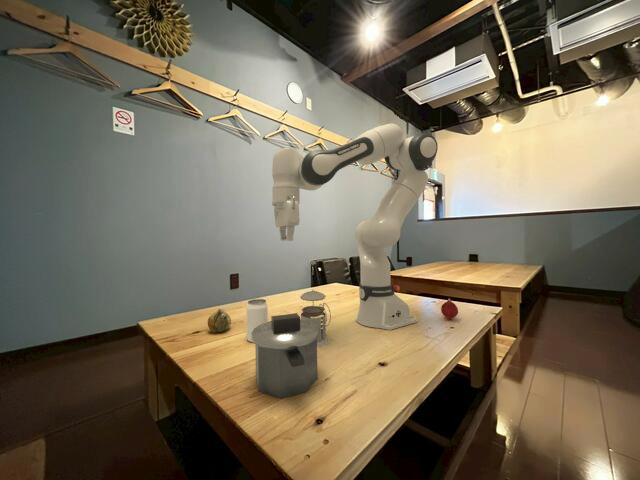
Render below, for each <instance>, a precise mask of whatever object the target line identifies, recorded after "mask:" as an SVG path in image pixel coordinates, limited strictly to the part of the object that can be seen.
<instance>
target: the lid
mask: <svg viewBox="0 0 640 480" xmlns="http://www.w3.org/2000/svg"><path fill="white" fill-rule="evenodd" d="M270 317H271V320H270V321H268V322H266V323H263V324H261V325H259V326H257V327H256V328H254V329H253V331H252V341H253V343H252V344H254V345H255V346H256V345H257V346H259V347H262V348H265V349H271V350H290V349H296V348H301V347H304V346H307V345H309V344H311V343H313V342H314V341H316V339H317V338H318V336H319V328H318V326H317V325H316V324H314V323H312V322H310V321H306V320H301V315H299V314H298V313H297V312H295V313H289V314H288V313H287V314H279V315H271V316H270Z"/></svg>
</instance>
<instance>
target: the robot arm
mask: <svg viewBox="0 0 640 480" xmlns="http://www.w3.org/2000/svg"><path fill="white" fill-rule="evenodd" d="M438 148H439V147H438V142H437V139H436V137H435V136H434V135H432V134H430V133H426V132H425V133H418V134H415V135H413V136H409V137H405V136H404V132H403V130H402V128H401V127H400V126H399V125H398V124H396V123H387V124H382V125H379V126H376V127H373V128H371V129H369V130H367V131H364V132H363V133H361V134H359V135H358V136H356V137H355V138H354V139H353V140H352V141H349V142H347V143H345V144H343V145H340V146H338V147H334V148H331V149H314V150H311V151H310V152H308V153H306V155H303V154H302V153H301V152H300V151H298V149H297V148H295V147H291V146H290V147H289V146H288V147H282V148H279V149H278V150H276V151H275V152H274V155H273V158H272V165H271V166H272V170H271V173H272V180H273V185H272V189H271V190H272V207H273V209H274V211H273V213H274V214H273V215H274V223H275V227H276V228H278V229H279V230H278V231H279V235H280V241H288V242H290V241H291V242H292V241H294V233H295V227H296V226H299V225H300V220H301V219H300V207H299V206H300V199H301V197H300V195H301V194H300V189H301V190H307V191H316V190H318V189H320V188H321V187H323V186H324V185H325V184H327V183H329V182H330V181H331V180H332V179H333V178H334V177H335V176H336V174H337V173H338V172H339V171H340V170H342V169H344V168H346V167H348V166H350V165H352V164H354V163H358V164H360V165H361V166H368V165H371V164H375V163H377V162H379V161H381V160H383V159H384V161H385V163H386V165H387V168H389V169H391V170H393V171H400V173H399V175H398V178H397V179H396V180H395V181H394V183H392V185H391V187H390V188H389V189H388V191H386V193H385V194H384V196H383V197H382V199H381V200H380V204H379V207H378V209H377V210H376V212H375V214H374V216H372V217H371V218H370V219H365V220H363V221H361V222H360V223H359V224H358V225H357V226H356V228H355V230H354V237H355V240H356V242H357V243H356V244H357V250H358V256H359V263H360V264H359V265H360V266H359V267H360V283H359V289H358V290H359V292H358V293H359V307H358V312H357V317H356V322H357V323H358V324H359V325H363V326H365V327H369V328H377V329H383V330H390V331H391V330H394V329H398V328H401V327H405V326H408V325H412V324H414V323H415V324H416V323H417V318H416V317H415V316H413V315H411V313H410V312H411V311H410V308H409V305H408V303H407V302H405V301H404V300H403V299H402V298H400V297H399V296H398V295H396V293H395V291H396V292H400V291H401V287H400V286H399V285H392V284H391V262H390V261H389V258H388V256H387V252H386V248H390V247H392V246H394V245H395V244H396V243H398V241H399V239H400V237H401V228H402V226H403V224H404V221H405V219H406V217H407V215H408V214H409V213H410V212H411V210H412V209H413V207H414V206H415V204H416V203H417V202H418V201H419V199H420V198H421V196H422V194H423V192H424V190H425V189H426V186H427V185H428V182H429V176H428V173H427V172H426V170H429V168H431V167H432V165H433V162H434V161H435V158H436V156H437V153H438Z"/></svg>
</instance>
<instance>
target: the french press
mask: <svg viewBox="0 0 640 480" xmlns="http://www.w3.org/2000/svg"><path fill="white" fill-rule="evenodd" d="M316 264H317V262H316V261H315V260H314V259H313V260H310V261H309V265H311V266H312V273H311V274H314V265H316ZM326 297H327V295H325V294H324V293H322V292H320V291H318V290H317V291H316V290H310V291H306V292H304V293H302V294H301V295H300V296H299V298H300V300H303V301H307V302H318V301H323V300H325V298H326ZM325 306H326V307H327V309H328V311H329V312H328V313H329V321H328V317H327V316H328V315H327V311H326V309H325ZM301 311H302V312H301V313H300V319H301V320H306V321H310V322H312V323H314V324H316V325H317V326H318V328H319V336H318V338H317V347H321V346H325V345H327V344H328V343H329V341H330V339H329V337H328V336H327V334H326V332H327V330H326V329H327V327H328V326H329V325H330V323H331V318H332V317H331V315H332V313H331V309H330V307H329V305H328V304H327V303H326V302H323V304H322V303H319V305H318V306H317V305H314V304H312V305H306V306H304V307H302V308H301ZM327 321H328V323H327Z"/></svg>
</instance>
